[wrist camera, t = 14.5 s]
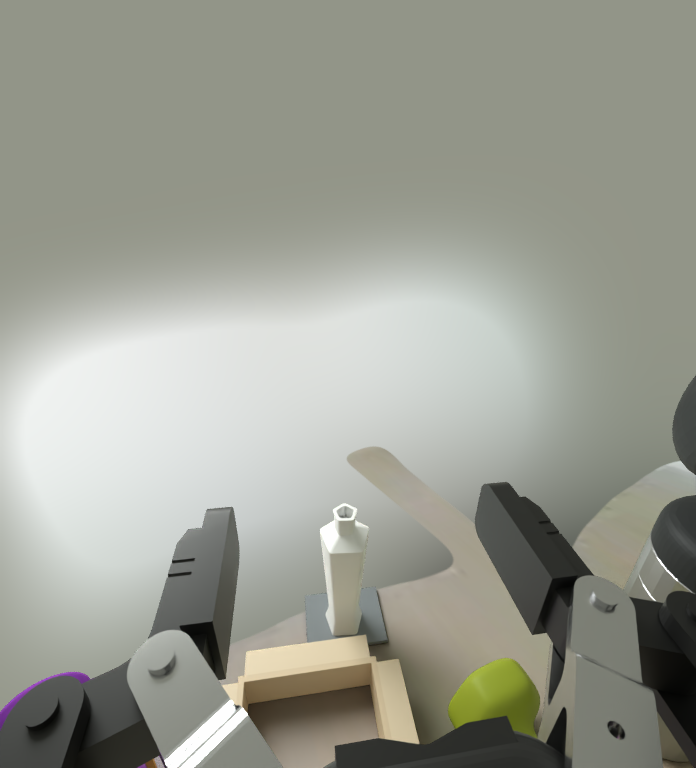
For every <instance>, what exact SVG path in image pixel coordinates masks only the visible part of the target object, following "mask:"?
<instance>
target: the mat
mask: <svg viewBox="0 0 696 768" xmlns="http://www.w3.org/2000/svg"><path fill="white" fill-rule="evenodd" d="M359 606H360V609H361V612H362V616H361V620H360V624H359V628H358V632H357V634H355V635H339V636H334V635H332V632H331V630H330V627H329V624H328V621H327V618H326V612H327V610H328V607H329V603H328V594H327V593H321V594H313V595H306V596H305V607H306V626H307V643H310V642H317V641H324V640H331V639H338V638H345V637H352V636H359V635H366V637H367V643H368V645H373V644H380V643H387V641H388V639H387V635H386V631H385V626H384V622H383V618H382V613H381V609H380V605H379V600H378V596H377V591H376V587H369V588H361V593H360V601H359Z"/></svg>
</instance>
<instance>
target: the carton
mask: <svg viewBox="0 0 696 768" xmlns="http://www.w3.org/2000/svg"><path fill="white" fill-rule="evenodd" d="M365 685H370V689H371V695H372V700H373V706H374V712H375V718H376V723H377V729H378V735H379V738H382V739H388V740H395V741H401V742H408V743H415V744H419V740H418V736H417V732H416V728H415V724H414V720H413V716H412V711H411V707H410V703H409V699H408V695H407V691H406V687H405V683H404V679H403V674H402V670H401V666H400V662H399V659H393V660H386V661H380V662H377V661H376V656H373V657H370V654H369V648H368V643H367V637H366V635H359V636H352V637H345V638H338V639H331V640H324V641H317V642H310V643H303V644H296V645H289V646H282V647H275V648H267V649H260V650H253V651H246V662H245V675H244V676H239V677H238V683H234V684H228V685H222V686H223V688H224V690H225V691H226V693H227V694H228V696H229V697H230V699H231V700H232V701H233V703H234V704H235V705H240V706H241V707H242V708H243V709H244V710H245V712H246V713H247V714H248V704H251V703H258V702H264V701H270V700H277V699H283V698H289V697H296V696H302V695H308V694H314V693H321V692H327V691H333V690H340V689H346V688H352V687H359V686H365Z"/></svg>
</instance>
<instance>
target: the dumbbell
mask: <svg viewBox="0 0 696 768" xmlns="http://www.w3.org/2000/svg"><path fill="white" fill-rule="evenodd" d="M539 706H540V696H539V693H538V691H537V689H536V687H535V685H534V684H533V682H532V681H531V679H530V678H529V676H528V675H527V674H526V672H525V671H524V670H523V668H522V667H521V666H520V665H519V664H518V663H517V662H516V661H515V660H513V659H509V658H503V659H499V660H496V661H493V662H491V663H489V664H487V665H485V666H483V667H481V668H479V669H477V670H476V671H474V672H473V673H472V674H471V675H470V676H468V678H467V679H466V680H465V681H464V682H463V684H462V685H461V687H460V688H459V689H458V691H457V692H456V693H455V695H454V696H453V698H452V699H451V702H450V704H449V708H448V714H449V718H450V720H451V722H452V724H453V726H454V728H455V729H457V728H458V727H460V726H462V725H463V724H465V723H468V722H473V721H479V720H485V719H490V718H496V717H502V716H507V717H508V719H509V722H510V724H511V726H512V729H513V731H518V732H521V733H525V734H528V735H530V736H532V737H535V738H537V735H536V733H535V730H534V719H535V717H536V715H537V713H538V710H539Z"/></svg>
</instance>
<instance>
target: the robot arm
mask: <svg viewBox="0 0 696 768" xmlns="http://www.w3.org/2000/svg"><path fill="white" fill-rule="evenodd" d="M672 430H673V442H674V445H675V449H676V452H677V454H678V456H679V458H680V460H681V461H682V463H683V464H684V465H685V466H686V468H687V469H688V470H690V471H691V472H692V473H694V474H695V475H696V376H695V377H694V378H693V380H692V381H691V382H690V384H689V385H688V387H687V389H686V390H685V392H684V394H683V395H682V398H681V400H680V402H679V404H678V407H677V409H676V412H675V415H674V420H673V428H672ZM475 526H476V531H477V534H478V537H479V539H480V541H481V543H482V544H483V546H484V548H485V550H486V552H487V554H488V555H489V557H490V559H491V561H492V563H493V564H494V566H495V568H496V570H497V572H498V574H499V575H500V577H501V579H502V581H503V583H504V584H505V586H506V588H507V590H508V592H509V594H510V595H511V597H512V599H513V601H514V603H515V604H516V606H517V608H518V610H519V612H520V614H521V615H522V617H523V619H524V621H525V623H526V624H527V626H528V628H529V630H530V632H531V634H532V635H535V634H541V633H547V634H548V636H549V637H550V639H551V641H552V642H551V644H550V648H549V658H548V668H547V678H546V688H545V698H544V708H543V715H542V720H541V724H540V728H539V732H538V737H537V738H535V737H532V736H530V735H528V734H525V733H521V732H518V731H513V729H512V726H511V724H510V722H509V719H508V717H507V716H502V717H496V718H490V719H485V720H479V721H473V722H468V723H465V724H463V725H462V726H460V727H458V728H457V729H455V730H453V731H451V732H450V733H448V734H446V735H444V736H443V737H441V738H439V739H438V740H436V741H434V742H432V743H430V744H427V745H421V744H415V743H408V742H401V741H395V740H388V739H382V738H377V739H371V740H366V741H360V742H354V743H349V744H343V745H337V746H335V761H333V762H332V763H330V764H328V765H327V766H325V767H324V768H663V761H662V758H664V759H668V760H671V761H677V762H689V761H690V763H691V764H692V766H693V767H694V768H696V495H694V496H686V497H682V498H679V499H676V500H674V501H672V502H670V503H669V504H668V505H667V506H665V508H664V509H663V510H662V511H661V513H660V515H659V517H658V519H657V521H656V523H655V525H654V527H653V529H652V531H651V533H650V535H649V537H648V539H647V541H646V543H645V545H644V547H643V549H642V551H641V554H640V556H639V558H638V560H637V562H636V564H635V566H634V568H633V571H632V573H631V575H630V577H629V579H628V581H627V583H626V585H625V587H624V589H623V590H622V589H621V588H620V587H618V586H617V585H615V584H614V583H612V582H610V581H609V580H606V579H604V578H601V577H598V576H594V575H593V574H592V572H591V571H590V570H589V569H588V567H587V566H586V565H585V564H584V562H583V561H582V560H581V558H580V557H579V556H578V555H577V553H576V552H575V551H574V550H573V548H572V547H571V546H570V545H569V543H568V542H567V541H566V539H565V538H564V537H563V536H562V534H559V531H558V529H557V528H556V527H555V526H554V524H553V523H551V522H550V519H549V518H548V517H547V515H546V514H545V513H544V512H543V510H542V509H541V508H540V507H539V506H538V505H536V504H535V503H533V502H532V501H531V500H529V499H528V498H526V497H519V496H518V494H517V493H516V492H515V490H514V489H513V488H512V486H511V485H510V484H509V483H507V482H502V483H491V484H484V485H483V486H482V488H481V493H480V497H479V502H478V507H477V512H476V517H475ZM238 568H239V541H238V534H237V528H236V522H235V515H234V510H233V507H226V508H215V509H207V511H206V513H205V518H204V522H203V526H202V528H196V529H188V530H187V532H186V533H185V534H184V536H183V537H182V538H181V540H180V541H179V542H178V543H177V545H176V549H175V552H174V556H173V559H172V564H171V566H170V570H169V573H168V578H167V580H166V583H165V587H164V590H163V593H162V597H161V600H160V603H159V607H158V610H157V614H156V617H155V621H154V624H153V627H152V630H151V633H150V635H149V637H148V639H147V641H145V642H144V643H143V644H142V645H141V646H140V647H139V648H138V649H137V651H136V652H135V654H134V655H133V657H132V658H131V659H130V660H128V661H127V662H125V663H124V664H122V665H121V666H119V667H117V668H115V669H113V670H111V671H109V672H106V673H104V674H102V675H100V676H98V677H95V678H93V679H91V680H89V681H86V682H84V683H82V684H81V683H80V681H79V680H78V679H76V678H75V677H72V676H58V677H54V678H51V679H48V680H46V681H44V682H42V683H40V684H39V685H37V686H36V687H34V688H33V689H31V690H30V691H29V692H28V693H26V694H25V695H24V696H23V697H22V698H21V699H20V700H19V701H18V702H17V703H16V705H15V706H14V707H13V708H12V710H11V711H10V713H9V714H8V716H7V718H6V720H5V722H4V724H3V726H2V728H1V730H0V768H138V767H139V766H141V765H143V764H145V763H147V762H148V761H150V760H152V759H154V758H156V757H157V756H160V758H161V761H162V763H163V765H164V767H165V768H283V767H282V765H281V764H280V762H279V761H278V759H277V758H276V756H275V755H274V753H273V752H272V750H271V749H270V747H269V746H268V744H267V743H266V741H265V740H264V738H263V737H262V735H261V734H260V732H259V731H258V729H257V728H256V726H255V725H254V723H253V722H252V720H251V719H250V717H249V716H248V714H247V713H246V712H245V710H244V709H243V708H242V707H241V706H240V705H235V704H234V703H233V701H232V700H231V699H230V697H229V696H228V694H227V693H226V691H225V690H224V688H223V686H222V685H221V683H220V682H219V680H222V679H226V672H227V663H228V654H229V646H230V637H231V628H232V620H233V611H234V601H235V594H236V585H237V576H238Z"/></svg>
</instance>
